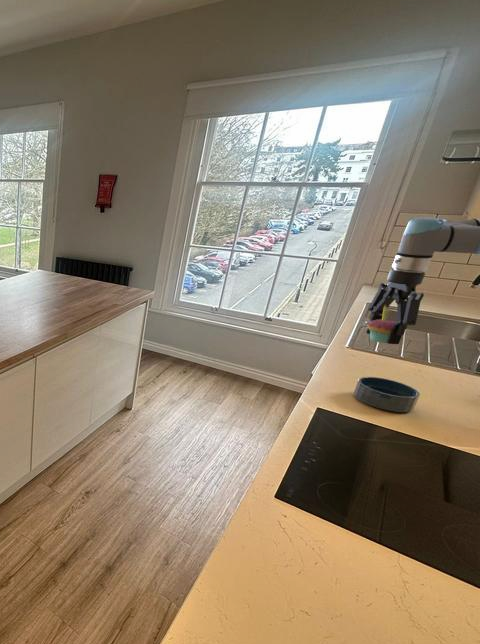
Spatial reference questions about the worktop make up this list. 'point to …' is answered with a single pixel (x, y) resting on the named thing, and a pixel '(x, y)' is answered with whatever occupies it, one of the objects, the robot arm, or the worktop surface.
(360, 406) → the worktop surface
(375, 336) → the cupcake
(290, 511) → the worktop surface
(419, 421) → the worktop surface
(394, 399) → the bowl
